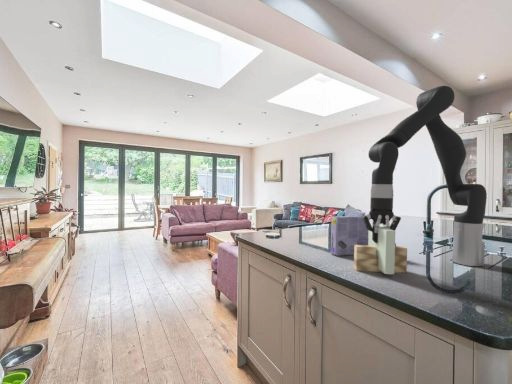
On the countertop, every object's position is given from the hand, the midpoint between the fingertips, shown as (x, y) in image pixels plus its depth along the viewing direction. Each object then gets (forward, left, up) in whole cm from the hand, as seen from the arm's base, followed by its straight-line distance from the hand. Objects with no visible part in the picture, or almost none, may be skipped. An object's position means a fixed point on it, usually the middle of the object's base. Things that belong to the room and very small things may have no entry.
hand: (380, 242), depth 94 cm
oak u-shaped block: (0, 0, -11) cm, 11 cm away
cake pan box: (+4, -23, -11) cm, 26 cm away
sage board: (0, 0, -9) cm, 9 cm away
